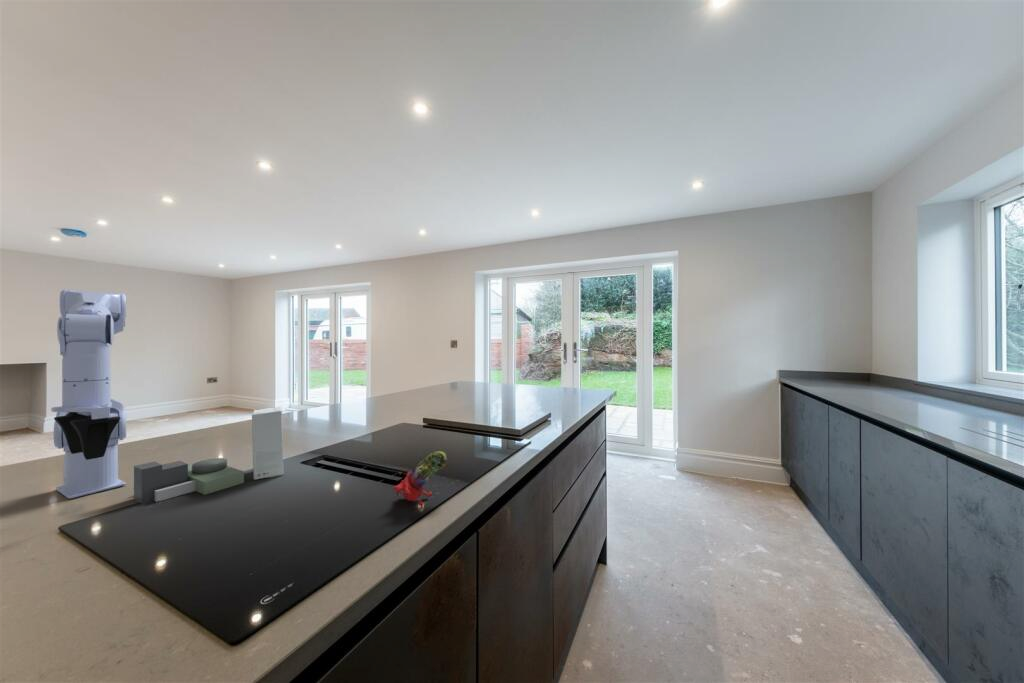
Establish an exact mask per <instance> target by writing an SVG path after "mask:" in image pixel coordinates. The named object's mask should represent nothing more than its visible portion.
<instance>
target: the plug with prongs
mask: <svg viewBox="0 0 1024 683" xmlns="http://www.w3.org/2000/svg"><path fill="white" fill-rule="evenodd" d="M187 464H188V463H187ZM244 483H245V472H244V470H240V469H237V468H235V467H232V466H229V465H228V459H227V458H224V457H217V458H209V459H203V460H200V461H197V462H194V463H190V464H188V482H185V483H181V484H178V485H174V486H170V487H166V488H163V489H159V490H155V500H154V501H155V502H156V503H158V501H159V502H161V501H165V500H169V499H173V498H177V497H178V496H182V495H187V494H190V493H193V492H197V493H199V494H201V495H203V496H205V495H208V494H211V493H215V492H218V491H219V492H220V491H222V490H225V489H228V488H231V487H234V486H239V485H242V484H244Z"/></svg>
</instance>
